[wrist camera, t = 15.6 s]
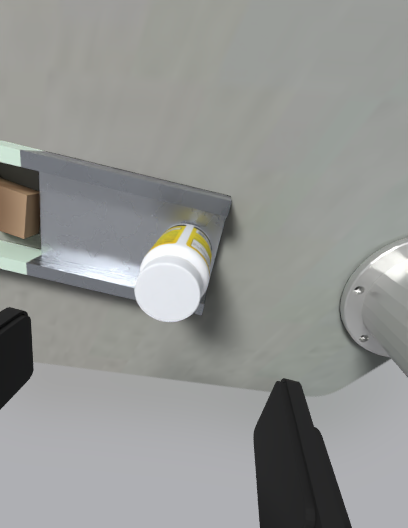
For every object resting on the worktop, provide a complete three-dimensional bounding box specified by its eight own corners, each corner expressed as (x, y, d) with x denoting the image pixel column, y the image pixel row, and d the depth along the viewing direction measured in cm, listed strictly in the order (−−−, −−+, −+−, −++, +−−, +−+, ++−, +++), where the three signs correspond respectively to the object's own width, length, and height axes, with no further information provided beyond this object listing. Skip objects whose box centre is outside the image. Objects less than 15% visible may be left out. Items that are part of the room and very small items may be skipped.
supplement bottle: (155, 264, 23) (121, 316, 16) (165, 215, 22) (132, 246, 14) (205, 278, 23) (195, 336, 16) (219, 231, 22) (216, 269, 14)
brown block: (44, 192, 23) (26, 195, 21) (40, 232, 24) (24, 238, 22) (1, 176, 23) (-22, 178, 21) (-1, 218, 24) (-21, 223, 22)
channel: (230, 196, 22) (231, 201, 19) (203, 298, 25) (201, 315, 23) (46, 151, 21) (19, 149, 18) (48, 262, 25) (26, 274, 22)
